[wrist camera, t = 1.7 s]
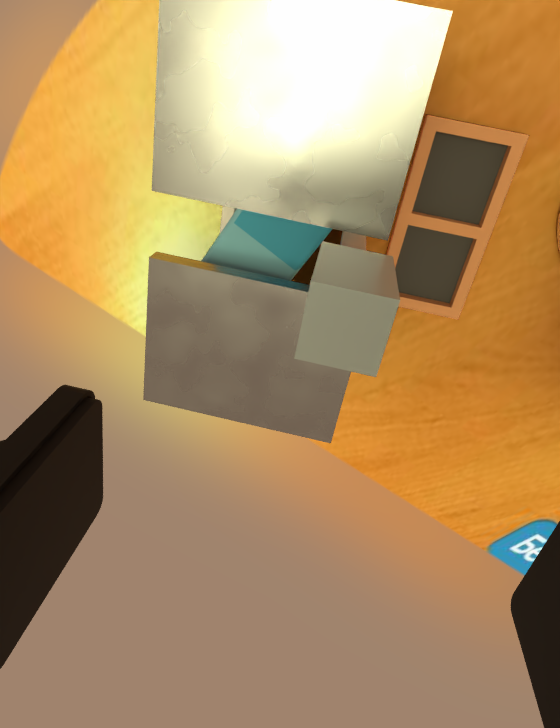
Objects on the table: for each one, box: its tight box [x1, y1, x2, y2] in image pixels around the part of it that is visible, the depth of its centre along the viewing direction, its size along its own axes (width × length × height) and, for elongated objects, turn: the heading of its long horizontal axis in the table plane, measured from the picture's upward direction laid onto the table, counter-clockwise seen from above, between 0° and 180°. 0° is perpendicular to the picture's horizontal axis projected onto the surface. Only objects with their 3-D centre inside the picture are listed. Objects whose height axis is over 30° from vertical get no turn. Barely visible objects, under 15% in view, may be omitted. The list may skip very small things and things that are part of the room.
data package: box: [202, 209, 332, 281], centre depth 31 cm, size 12×4×12 cm, turn 143°
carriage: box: [220, 206, 400, 377], centre depth 27 cm, size 10×16×22 cm, turn 170°
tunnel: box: [144, 0, 453, 443], centre depth 30 cm, size 11×20×15 cm, turn 170°
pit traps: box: [386, 114, 529, 319], centre depth 35 cm, size 6×13×1 cm, turn 170°
